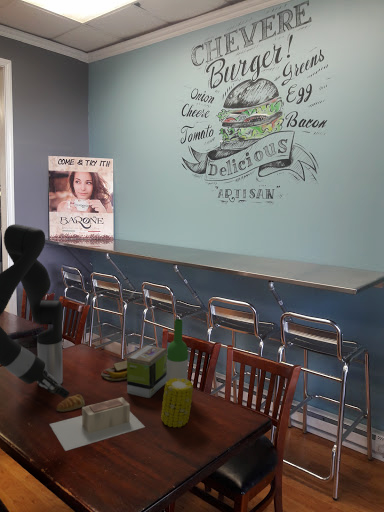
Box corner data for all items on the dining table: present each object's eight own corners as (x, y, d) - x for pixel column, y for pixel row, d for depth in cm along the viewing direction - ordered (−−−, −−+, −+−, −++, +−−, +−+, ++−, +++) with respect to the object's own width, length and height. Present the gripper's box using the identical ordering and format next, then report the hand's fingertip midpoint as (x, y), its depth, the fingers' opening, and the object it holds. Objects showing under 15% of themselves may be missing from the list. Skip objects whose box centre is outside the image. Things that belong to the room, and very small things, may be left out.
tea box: (145, 378, 178) (145, 344, 176) (167, 383, 174) (168, 348, 172) (126, 393, 164) (126, 356, 162) (149, 399, 161) (150, 361, 158)
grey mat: (49, 425, 140) (49, 424, 140) (123, 406, 155) (123, 404, 155) (65, 452, 126) (65, 450, 126) (145, 428, 141) (145, 426, 141)
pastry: (62, 416, 147) (62, 405, 146) (52, 409, 151) (52, 399, 151) (86, 407, 153) (86, 397, 153) (76, 400, 158) (76, 390, 158)
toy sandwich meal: (100, 370, 185) (100, 360, 184) (131, 368, 188) (131, 358, 188) (102, 383, 173) (102, 372, 172) (136, 380, 176) (136, 369, 176)
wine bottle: (172, 403, 157) (174, 324, 153) (162, 395, 164) (164, 318, 160) (190, 399, 162) (193, 321, 157) (179, 390, 168) (182, 315, 164)
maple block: (82, 406, 140) (122, 396, 148) (82, 424, 141) (122, 413, 148) (88, 414, 135) (129, 403, 143) (88, 433, 136) (129, 421, 143)
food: (166, 417, 151) (193, 424, 148) (152, 426, 140) (181, 434, 137) (172, 373, 152) (199, 379, 149) (160, 378, 141) (189, 385, 138)
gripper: (39, 361, 120) (82, 393, 129) (28, 347, 131) (68, 377, 140) (20, 383, 118) (65, 414, 127) (9, 367, 129) (52, 396, 137)
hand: (66, 394), depth 133 cm, fingers closed
